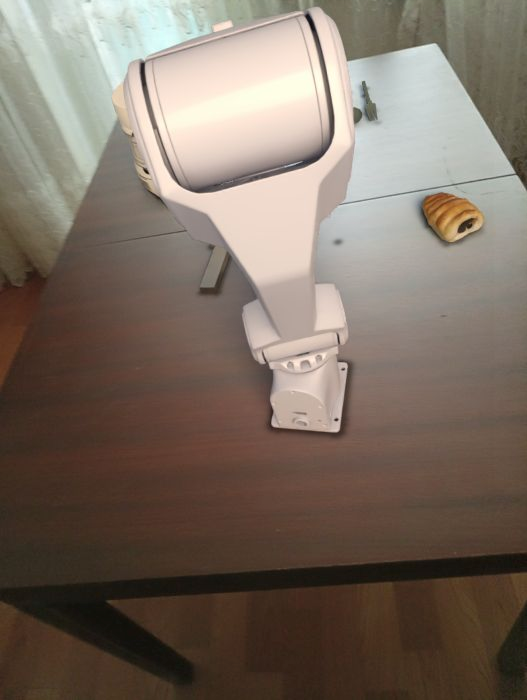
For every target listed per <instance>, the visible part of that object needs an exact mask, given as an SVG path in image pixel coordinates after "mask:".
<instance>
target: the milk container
mask: <svg viewBox="0 0 527 700" xmlns="http://www.w3.org/2000/svg"><path fill="white" fill-rule="evenodd" d="M123 83H124V80H123V81H121V82H120V83H119V84H118V85H117V86H116V88H115V89H114V90H113V92H112V95H111V102H112V105H113V108H114V111H115V113H116V116H117V119H118V121H119V123H120V126H121V129H122V132H123V133H124V135H125V137H126V139H127V141H128V143H129V146H130V148H131V152H132V155H133V156H132V157H133V161H134V162H133V163H134V168H135V171H136V174H137V176H138V179H139V181H140V182H141V183H142V185H143V187H145V189H146V190H147V191H148V192H149V194H151V195H153V196H154V197H156V198H157V199H161V198H160V196H159V195H158V193H157V191H156V189H155V187H154V184H153V182H152V179H151V177H150V174H149V172H148V170H147V168H146V166H145V163H144V161H143V159H142V156H141V154H140V151H139V148H138V146H137V143H136V140H135V137H134V134H133V131H132V128H131V124H130V121H129V117H128V113H127V109H126V104H125V99H124V91H123ZM213 186H216V185H213ZM161 200H162V199H161Z"/></svg>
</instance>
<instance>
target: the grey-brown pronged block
mask: <svg viewBox="0 0 527 700" xmlns="http://www.w3.org/2000/svg"><path fill="white" fill-rule="evenodd" d="M210 247H211V248H213V250H212V253H211V255H210V258H209V260H208V263H207V266H206V269H205V271H204V274H203V276H202V279H201V282H200V284H199V289H200V292H201V293H202V294H203V293H204V294H207V293H209V294H211V293H212V294H216V293H218V289H219V286H220V284H221V281H222V278H223V275H224V272H225V270H226V267H227V265H228V264H227V263H228V260H229V258H230V256H231V255H230V254H229V252H228V251H227V250H226V249H225V248H223V247H219V246H216V245H212V244H210Z"/></svg>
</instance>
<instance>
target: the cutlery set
mask: <svg viewBox="0 0 527 700" xmlns="http://www.w3.org/2000/svg"><path fill="white" fill-rule="evenodd" d="M361 86H362V89H363V93H364V97H365V100H366V104H365V105H364V110H365V112H366V115H367V117H368V121H369V122H371V121H375V119H376V120H379V117H378V113H377V106H376V105H377V104H376V103H375V102H373V100H372V99H371V97H370V93H369V91H368V86H367V83H366V80H362V81H361ZM362 118H363V111H362V110H361V109H360V108H358V107H356V106H353V119H354V124H356V123H359V122H360V121H361V119H362Z"/></svg>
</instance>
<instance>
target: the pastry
mask: <svg viewBox="0 0 527 700" xmlns="http://www.w3.org/2000/svg"><path fill="white" fill-rule="evenodd" d="M421 203H422V204H421V208H422V210H423V214H424V217H425V218H426V220H427V224H428V226H429V227H431V229H432V230H433V231H434V233H436V234H437V236H438V237H439V238H440V239H441V240H443V241H445V242H448V243H454V242H456V241H459V240H460V239H462V238H464V237H465V236H467V235H468V234H470V233H473V232H475V231H478V230H479V229H481V227H482V226H483V225H484V221H485V216H484V215H483V212H482V211H481V210H479V207H477V206H476V205H475V204H473V203H472V202H470V201H469V199H468V198H465V197H459V196H456V195H454V194H453V193H449V192H442V191H441V192H437V193H433V194H430V195H426V196H424V199H423V201H422V202H421Z"/></svg>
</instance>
